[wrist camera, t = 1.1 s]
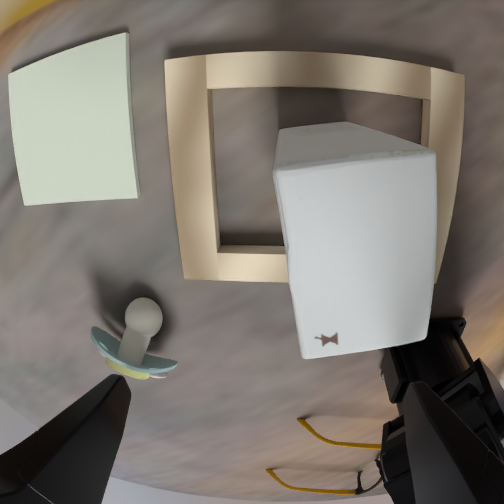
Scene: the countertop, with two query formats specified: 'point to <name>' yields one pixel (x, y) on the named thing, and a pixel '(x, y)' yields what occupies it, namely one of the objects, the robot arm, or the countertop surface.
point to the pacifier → (135, 342)
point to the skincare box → (356, 236)
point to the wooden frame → (289, 75)
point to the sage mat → (75, 125)
